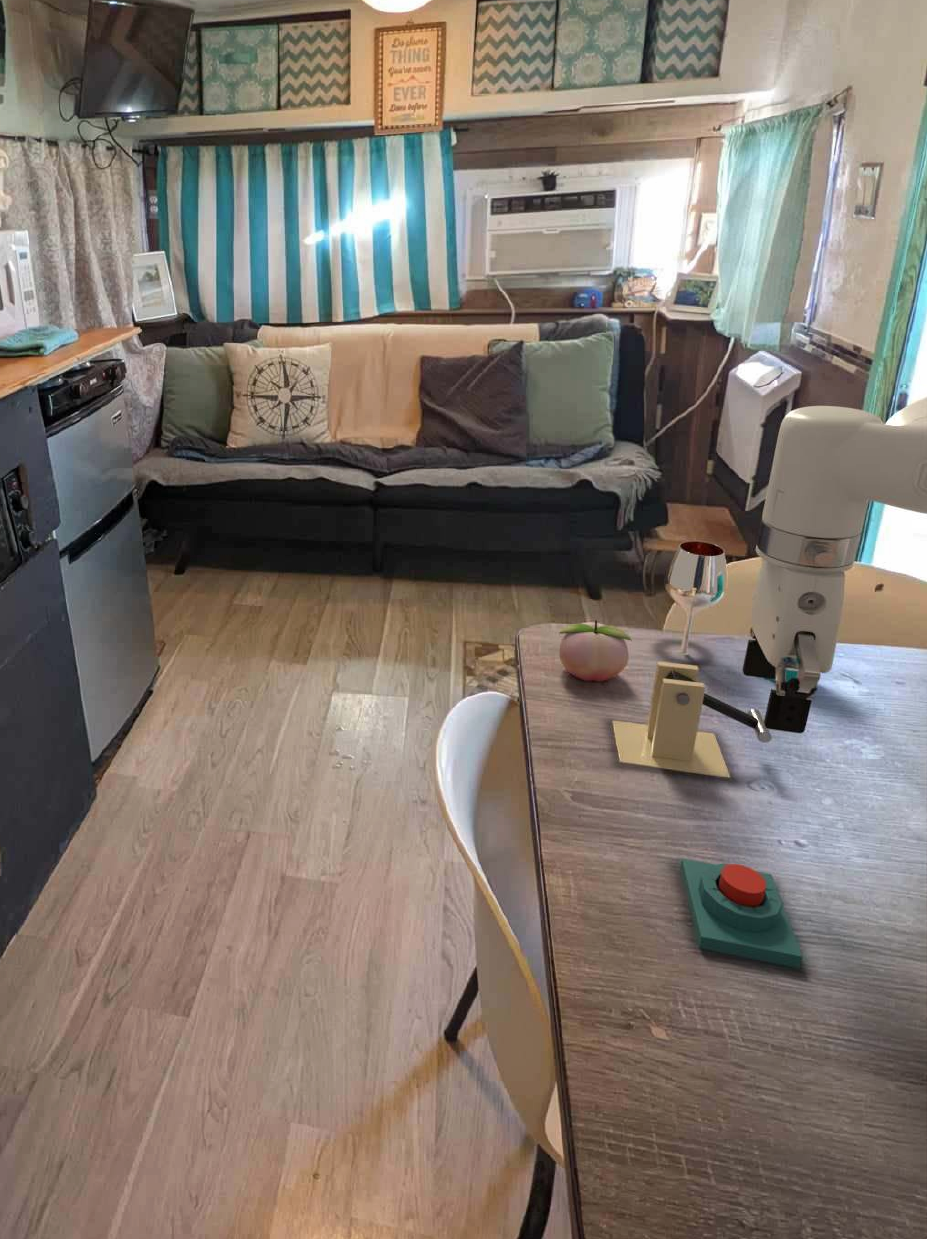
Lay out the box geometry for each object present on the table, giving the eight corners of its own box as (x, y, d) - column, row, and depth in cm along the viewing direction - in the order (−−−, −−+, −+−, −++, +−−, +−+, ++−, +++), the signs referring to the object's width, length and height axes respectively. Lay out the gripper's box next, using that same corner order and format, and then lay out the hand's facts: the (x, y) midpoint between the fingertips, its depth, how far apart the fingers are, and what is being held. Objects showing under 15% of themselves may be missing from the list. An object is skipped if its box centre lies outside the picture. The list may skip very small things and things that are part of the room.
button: (757, 882, 78) (760, 867, 77) (767, 911, 75) (771, 896, 74) (715, 874, 79) (718, 860, 78) (723, 902, 76) (726, 888, 75)
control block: (767, 890, 81) (774, 859, 80) (797, 974, 72) (806, 941, 71) (678, 874, 84) (684, 844, 82) (697, 954, 75) (704, 921, 73)
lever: (753, 723, 99) (765, 709, 98) (764, 747, 95) (777, 733, 94) (658, 677, 101) (669, 663, 100) (665, 699, 97) (676, 684, 96)
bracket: (712, 741, 104) (728, 661, 100) (729, 785, 96) (747, 700, 92) (611, 727, 107) (622, 649, 103) (618, 769, 99) (631, 687, 95)
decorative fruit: (615, 667, 121) (623, 607, 118) (629, 697, 114) (639, 635, 110) (549, 664, 123) (555, 605, 119) (559, 693, 115) (566, 631, 112)
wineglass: (652, 640, 128) (669, 534, 121) (712, 649, 124) (732, 541, 118) (652, 665, 121) (670, 555, 115) (714, 676, 118) (736, 563, 111)
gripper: (889, 586, 66) (843, 760, 72) (826, 513, 81) (792, 663, 87) (782, 576, 68) (746, 746, 74) (740, 508, 83) (712, 653, 89)
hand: (770, 701), depth 80 cm, fingers open, 9 cm apart
